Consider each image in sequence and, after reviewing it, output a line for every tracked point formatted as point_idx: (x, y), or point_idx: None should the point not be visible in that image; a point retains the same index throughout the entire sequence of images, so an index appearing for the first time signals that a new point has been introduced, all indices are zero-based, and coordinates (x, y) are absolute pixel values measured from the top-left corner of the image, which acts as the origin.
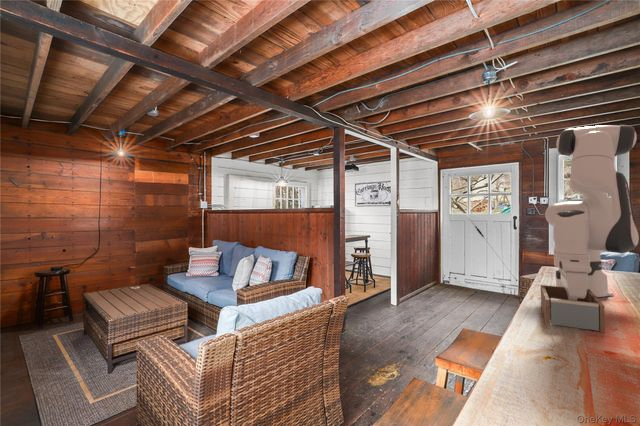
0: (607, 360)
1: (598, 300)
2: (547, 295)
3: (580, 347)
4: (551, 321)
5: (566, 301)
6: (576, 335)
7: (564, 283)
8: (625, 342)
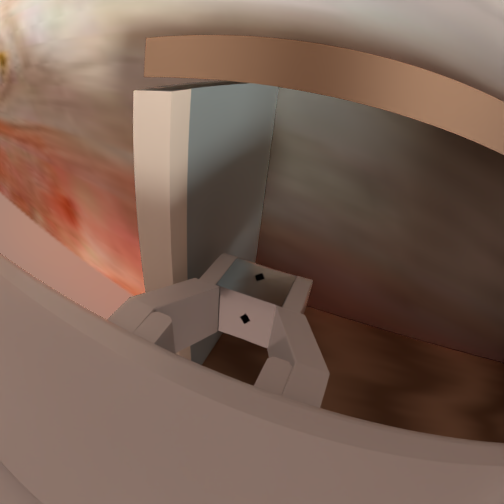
0: (33, 184)
1: None
2: (389, 105)
3: (62, 143)
4: None
5: (143, 231)
6: None
7: (163, 447)
8: None
